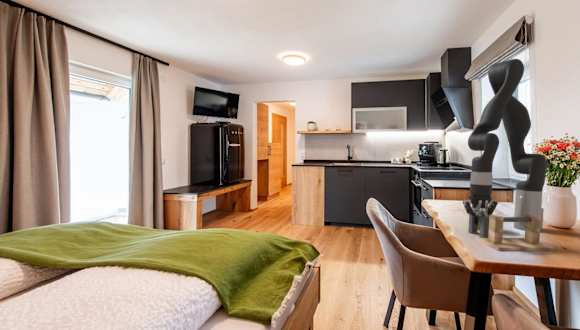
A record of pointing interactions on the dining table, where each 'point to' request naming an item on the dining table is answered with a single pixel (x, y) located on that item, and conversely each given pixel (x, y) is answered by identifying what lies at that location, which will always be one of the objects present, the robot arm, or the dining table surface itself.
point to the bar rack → (514, 243)
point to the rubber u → (483, 226)
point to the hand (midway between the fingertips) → (478, 225)
